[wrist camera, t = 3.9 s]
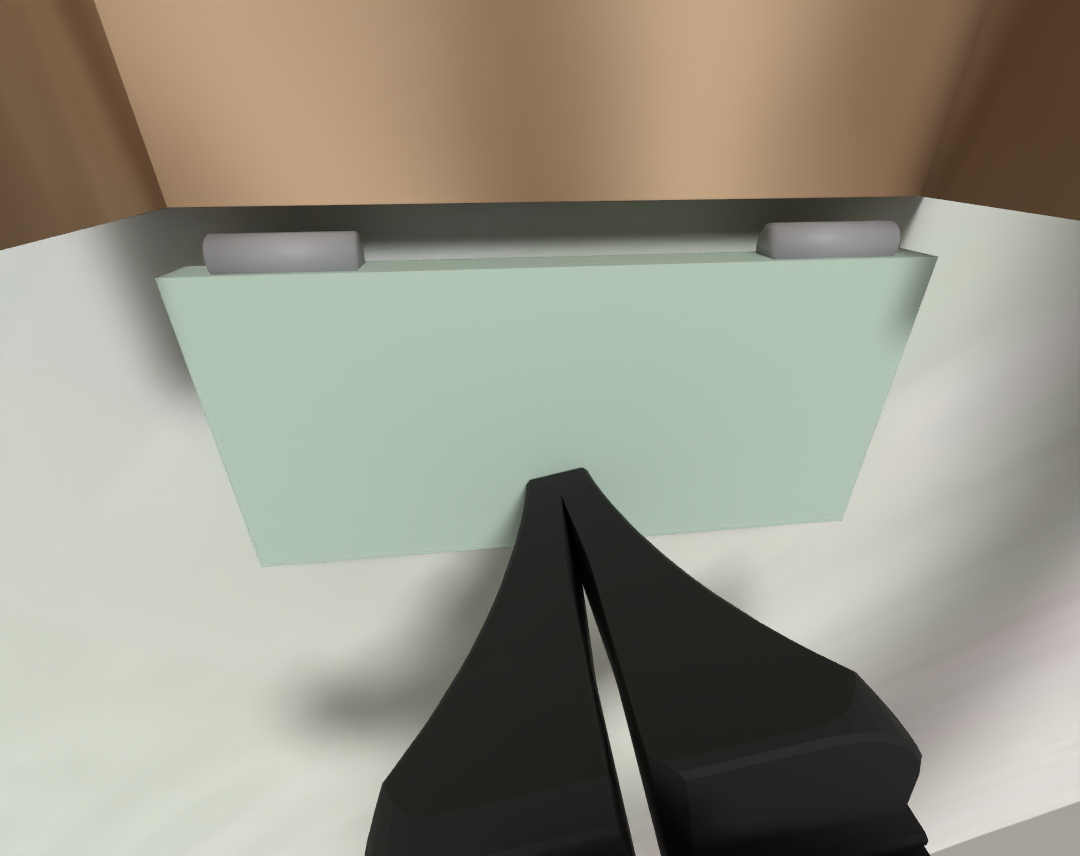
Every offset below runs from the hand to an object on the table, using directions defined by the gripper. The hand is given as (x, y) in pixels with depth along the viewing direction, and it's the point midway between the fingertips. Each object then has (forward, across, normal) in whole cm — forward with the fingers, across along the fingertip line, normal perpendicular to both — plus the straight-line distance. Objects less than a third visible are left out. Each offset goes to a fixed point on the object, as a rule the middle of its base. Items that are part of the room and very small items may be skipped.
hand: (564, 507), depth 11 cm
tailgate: (+1, -1, -5) cm, 6 cm away
